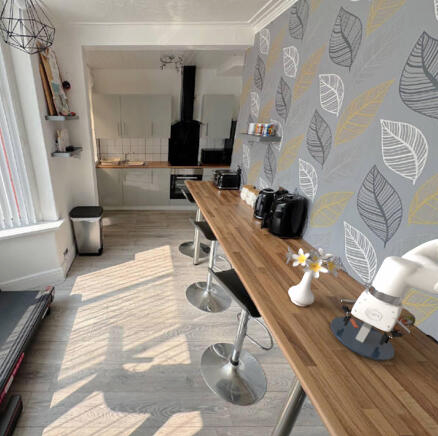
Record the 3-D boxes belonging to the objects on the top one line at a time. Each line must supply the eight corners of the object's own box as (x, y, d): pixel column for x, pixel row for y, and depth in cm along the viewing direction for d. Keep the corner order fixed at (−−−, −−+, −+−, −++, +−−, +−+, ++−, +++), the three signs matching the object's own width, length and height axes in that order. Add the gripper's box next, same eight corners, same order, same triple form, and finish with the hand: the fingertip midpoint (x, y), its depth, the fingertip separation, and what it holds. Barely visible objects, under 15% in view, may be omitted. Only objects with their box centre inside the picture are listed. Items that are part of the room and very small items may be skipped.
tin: (362, 323, 90) (372, 306, 87) (358, 317, 93) (366, 300, 89) (409, 332, 87) (421, 315, 83) (403, 325, 90) (414, 308, 86)
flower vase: (274, 285, 109) (289, 237, 99) (321, 300, 101) (343, 250, 90) (271, 302, 98) (288, 251, 88) (324, 321, 90) (349, 267, 80)
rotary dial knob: (405, 369, 72) (416, 354, 69) (339, 350, 77) (347, 335, 74) (377, 326, 86) (386, 312, 84) (324, 313, 92) (330, 299, 89)
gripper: (348, 284, 78) (330, 322, 84) (424, 316, 66) (395, 357, 72) (353, 275, 82) (336, 312, 89) (426, 304, 70) (399, 344, 77)
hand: (362, 332), depth 81 cm, fingers open, 9 cm apart
